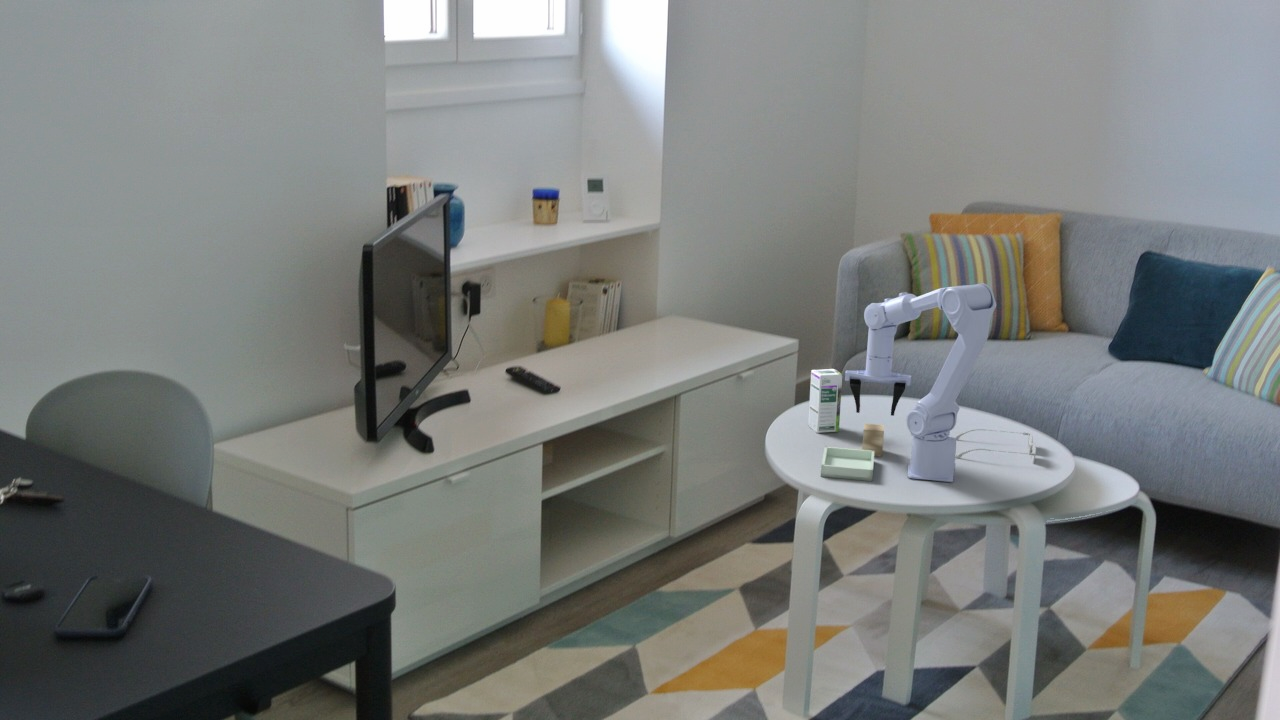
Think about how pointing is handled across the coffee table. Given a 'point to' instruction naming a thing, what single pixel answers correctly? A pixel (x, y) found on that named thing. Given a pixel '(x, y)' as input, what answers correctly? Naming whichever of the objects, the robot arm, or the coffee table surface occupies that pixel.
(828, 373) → the syrup box
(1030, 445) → the eyeglasses
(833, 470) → the serving tray
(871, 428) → the maple block
